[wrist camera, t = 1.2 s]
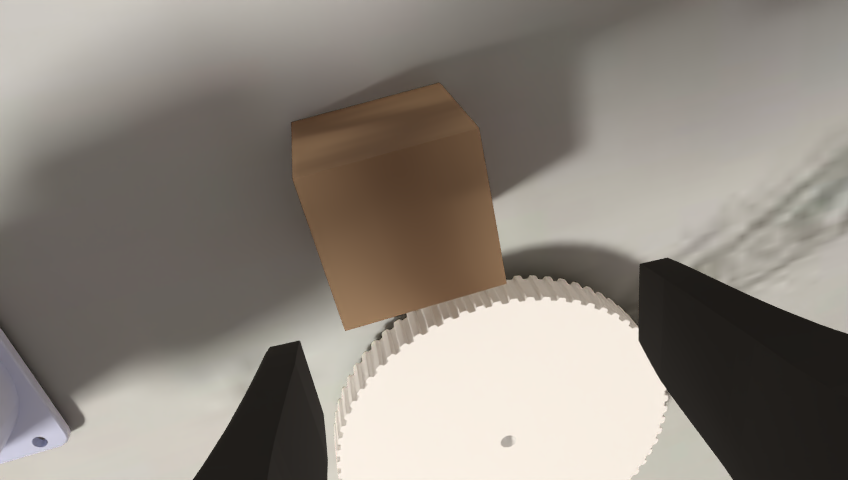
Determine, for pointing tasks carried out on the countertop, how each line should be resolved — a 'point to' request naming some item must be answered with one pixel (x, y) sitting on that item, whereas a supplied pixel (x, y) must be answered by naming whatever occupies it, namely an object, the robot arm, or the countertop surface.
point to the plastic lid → (503, 391)
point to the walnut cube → (397, 203)
